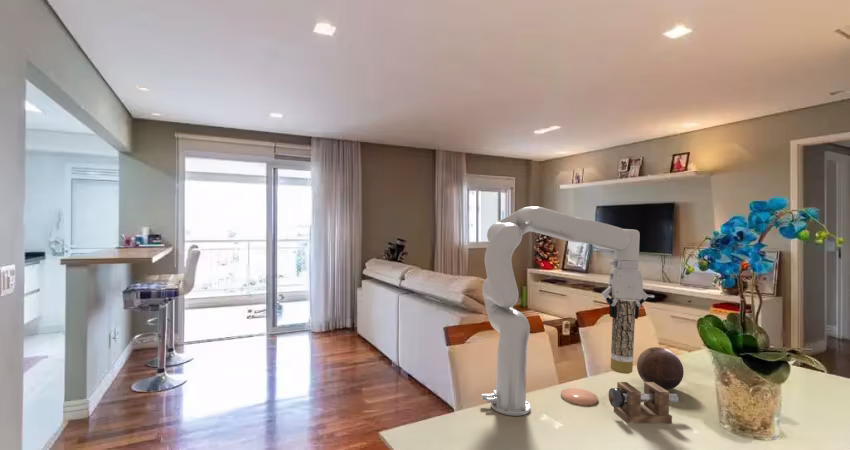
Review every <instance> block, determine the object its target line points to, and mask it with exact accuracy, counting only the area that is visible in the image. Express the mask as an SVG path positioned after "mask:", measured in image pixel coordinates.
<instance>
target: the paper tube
mask: <svg viewBox="0 0 850 450" xmlns="http://www.w3.org/2000/svg"><path fill="white" fill-rule="evenodd" d="M635 304H636V300H634V299H618V301H617V303H616V305H615V306H616V307H617V316H616V318H612V324H611V344H610V347H611V348H610V369H611V371H613V372H615V373H618V374H623V375H624V374H625V375H629V374H632V373H633V371H634V370H633V369H634V368H633V367H634V364H633V363H634V344H635V328H636V327H635V321H636V319H635Z"/></svg>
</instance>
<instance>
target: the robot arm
mask: <svg viewBox="0 0 850 450" xmlns="http://www.w3.org/2000/svg"><path fill="white" fill-rule="evenodd" d="M528 232H532V233H536V234H540V235H544V236H547V237H548V236H549V237H551V238H555V239H558V240H562V241H568V242H570V243H571V242H572V243H581V244H583V243H584V244H589V245H591V246H593V247H594V248H596V249H598V250H605V251H614V252H613V253H614V255H613V261H610V263H609V264H610V266H613V267H612V268H611V270H610V275H609V280H608V287H606V288H605V290H603V291H602V292H601V293H600V294H601V297H602V298H603V299H604V301H605V302H606V303H607V304H608V305H609V308H608V314H609V317H610V318H612V319H613V318H616V316H617V307H616V306H615V305H616V303H617V301H618V299H634V300H636V304H635V320H637V319H638V318H639V315H640V311H639V310H640V308H641V306H642V304H644V303H645V301H646V300H647V299H648V298H649V295H648V294H647V293H646V292H645V291H644V286H643V285H644V284H643V275H642V271H641V269H639V264H640V263H639V262H640V261H639V259H640V257H639V256H640V238H641V237H640V235H641V234H640V231H639V230H637V229H632V228H631V229H629V228H622V227H619V226H615V225H612V224H608V223H606V222H601V221H597V220H592V219H588V218H584V217H579V216H576V215H575V216H574V215H572V214H571V215H570V214H567V213H564V212H560V211H556V210H553V209H549V208H546V207H542V206H536V205H535V206H526V207H522V208H520V209H518V210H516V211H515V212H512V213H511V214H509V215H508V216H505V217H503V218H501V219H500V220H498V221H495V222H494V223H493V224H492V225H490V226H489V228H488V229H487V233H486V237H487V241H488V242H489V243H488V245H487V247H486V250H485V252H484V266H485V267H484V268H485V271H486V278H485V280H484V281H483V283H482V289H481V292H482V298H483V300H484V301H483V302H484V306H485V310H486V314H487V317H488V321H489V323H490V325H491V327H492V329H493V330H495V331H496V332H497V333H498V334H499V336H498V342H497V345H496V346H497V347H496V377H495V379H496V380H495V383H496V384H495V389H493V392H491V393H481V395H480V397H481V398H480V399H481V401H486V403H488V404H489V403H490V407H491V408H492V409H493V410H494V411H496V412H497V413H499V414H502V415H505V416H510V417H511V416H515V417H518V416H524V415H527V414H529V413H530V412H531V404H530V402H528V401H527V400H526V399H527V357H528V356H527V355H528V343H529V338H530V333H531V332H530V331H531V329H530V328H531V327H530V326H531V325H530V322H529V319H528V318H527V317H526V316H525V314H523V313H522V312H521V311H519V310H517V309H516V308H514V306H515V305H516V304H517V302H518V300H519V290H518V285H517V282H516V278H515V274H514V268H513V264H512V261H513V260H512V256H513V255H514V251H515V250H516V249H517V247H518V246H519V245H520V244H521V241H522V239H523V235H525V234H526V233H528Z"/></svg>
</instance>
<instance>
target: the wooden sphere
mask: <svg viewBox="0 0 850 450" xmlns="http://www.w3.org/2000/svg"><path fill="white" fill-rule="evenodd" d="M636 369H637V373H638V376H639V377H640V379H641V380H642V381H643V383H644V382H654V383H656V384H657V385H659V386H660V387H662V388H664V389H665V390H667V391H669V390H672V389H675V388H676V387H678V386H679V385H680V384H681V382H683V381H682V380H683V377H684V366H683V364H682V361H681V360H680V358H679V357H678V356H677V355H676V354H675V353H674V352H673V351H671V350H669V349H667V348H664V347H663V348H662V347H660V346H658V347H657V346H655V347H649V348H647V349H644V350H643V351H642V352H641V353H640V355H638V358H637V361H636Z"/></svg>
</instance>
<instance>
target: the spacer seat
mask: <svg viewBox="0 0 850 450" xmlns="http://www.w3.org/2000/svg"><path fill="white" fill-rule="evenodd" d="M560 397H561V399H563V400H564V401H566V402H567V403H570V404H573V405H576V406H586V407H587V406H588V407H589V406H590V407H591V406H595V405H597V404H598V402H599V397H598V396H597V394H595V393H594V392H592V391H589V390H587V389H584V388H583V389H582V388H576V387H575V388H574V387H571V388H570V387H568V388H564V389H562V390H561V391H560Z"/></svg>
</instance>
